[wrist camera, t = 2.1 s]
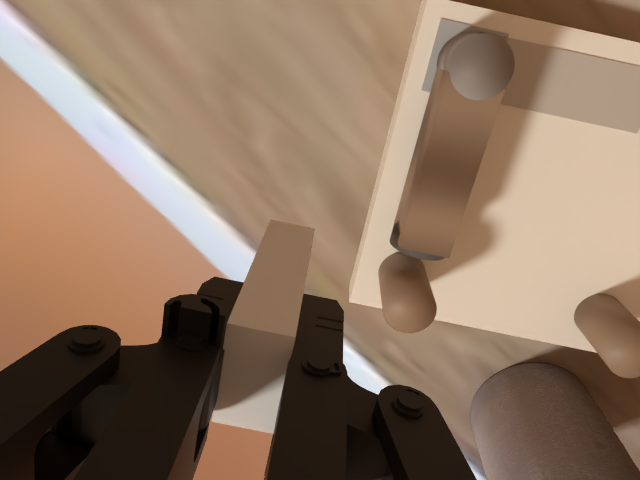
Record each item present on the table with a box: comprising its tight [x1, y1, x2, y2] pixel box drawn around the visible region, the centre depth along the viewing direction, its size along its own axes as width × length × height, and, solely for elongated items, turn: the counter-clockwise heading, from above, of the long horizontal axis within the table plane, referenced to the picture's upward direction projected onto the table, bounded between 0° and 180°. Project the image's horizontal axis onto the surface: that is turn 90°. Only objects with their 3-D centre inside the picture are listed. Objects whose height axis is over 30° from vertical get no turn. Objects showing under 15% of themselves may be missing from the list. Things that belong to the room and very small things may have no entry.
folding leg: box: [390, 33, 515, 261], centre depth 29 cm, size 13×4×4 cm, turn 168°
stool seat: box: [349, 0, 640, 378], centre depth 31 cm, size 20×20×8 cm
